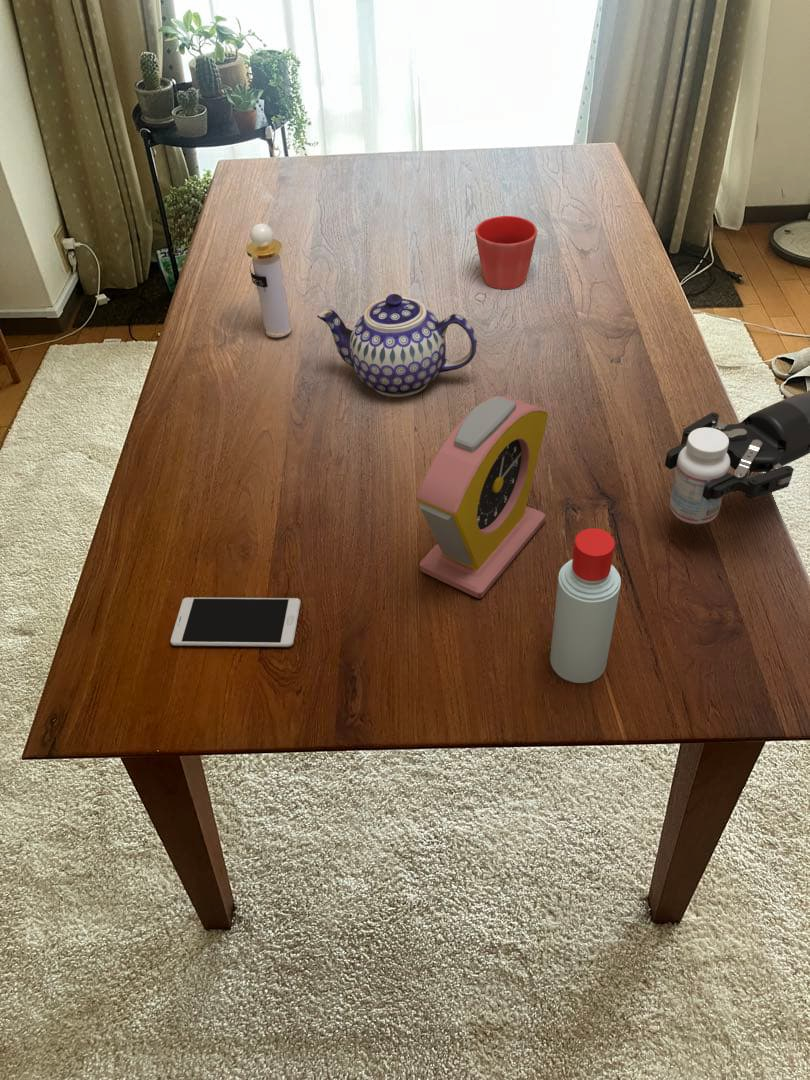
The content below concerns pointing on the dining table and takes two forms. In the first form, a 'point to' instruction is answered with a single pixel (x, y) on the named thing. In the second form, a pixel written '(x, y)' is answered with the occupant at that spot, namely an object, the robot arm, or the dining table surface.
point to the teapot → (397, 345)
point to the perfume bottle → (269, 279)
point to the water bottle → (583, 624)
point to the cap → (593, 554)
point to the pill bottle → (699, 475)
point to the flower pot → (505, 250)
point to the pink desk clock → (483, 494)
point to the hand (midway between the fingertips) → (686, 476)
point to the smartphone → (236, 622)
